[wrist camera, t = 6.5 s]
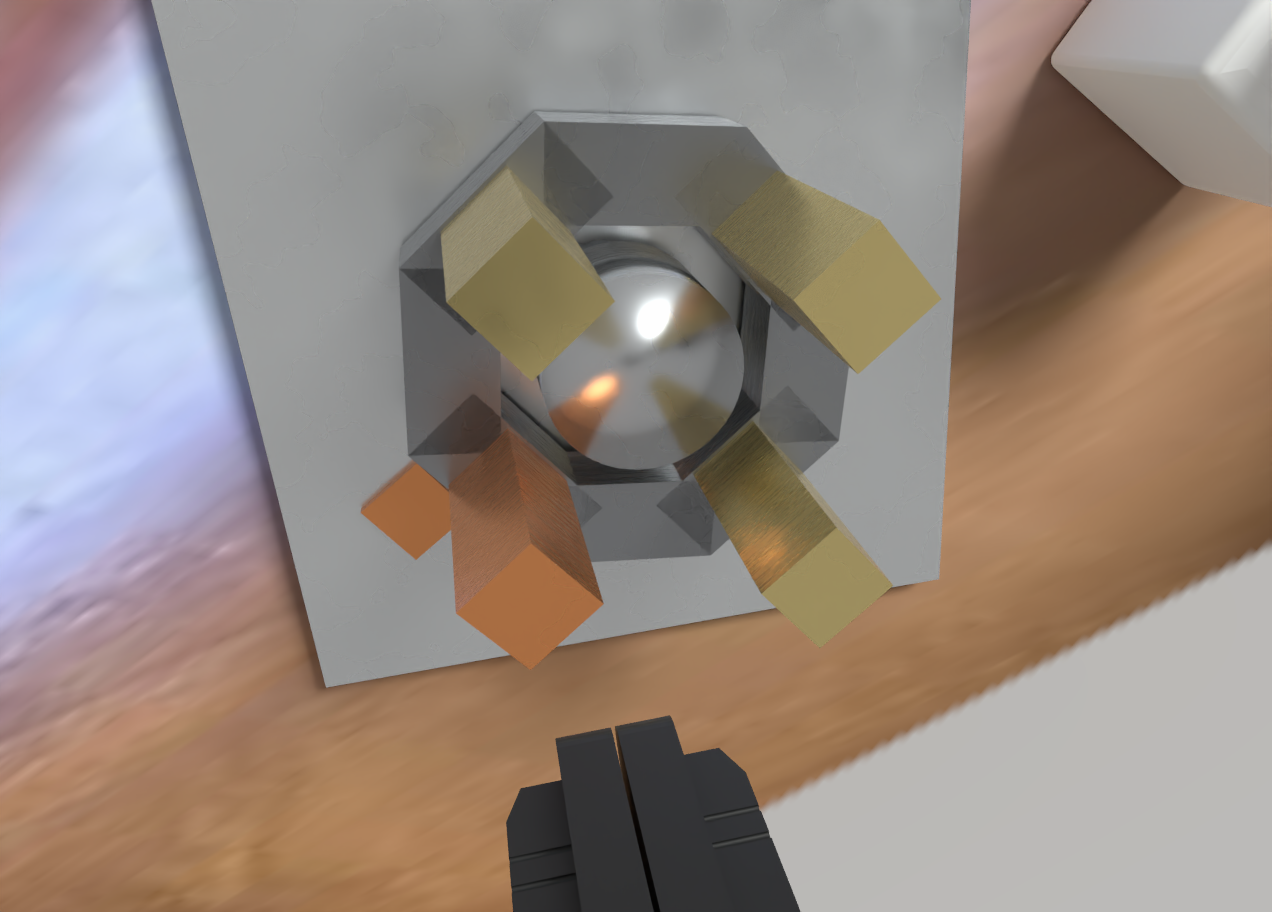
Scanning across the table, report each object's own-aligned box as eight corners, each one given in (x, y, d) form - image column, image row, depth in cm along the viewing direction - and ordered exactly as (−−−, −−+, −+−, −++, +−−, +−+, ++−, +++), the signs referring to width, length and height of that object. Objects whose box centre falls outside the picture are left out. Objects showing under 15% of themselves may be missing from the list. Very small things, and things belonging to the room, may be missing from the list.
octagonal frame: (393, 107, 27) (381, 155, 19) (846, 120, 30) (1011, 167, 21) (414, 532, 32) (411, 717, 24) (798, 513, 35) (917, 675, 27)
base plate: (959, -98, 29) (1057, -116, 25) (926, 565, 38) (993, 640, 34) (151, -35, 26) (95, -41, 22) (328, 669, 35) (315, 767, 31)
